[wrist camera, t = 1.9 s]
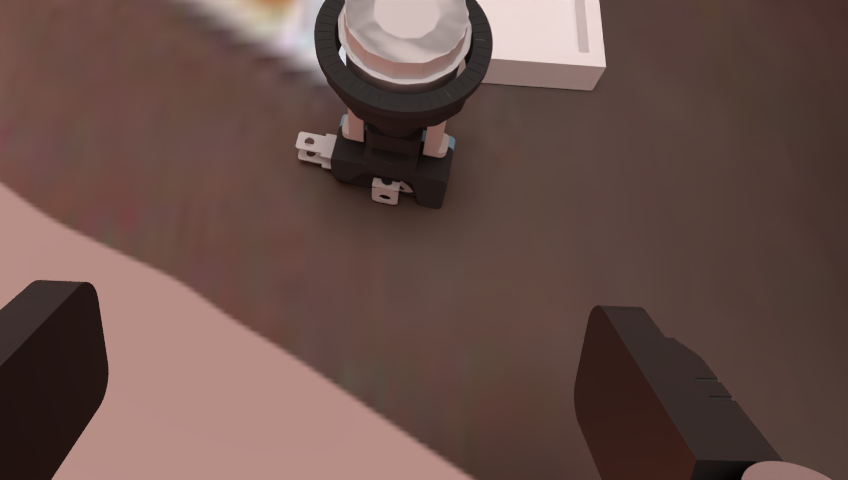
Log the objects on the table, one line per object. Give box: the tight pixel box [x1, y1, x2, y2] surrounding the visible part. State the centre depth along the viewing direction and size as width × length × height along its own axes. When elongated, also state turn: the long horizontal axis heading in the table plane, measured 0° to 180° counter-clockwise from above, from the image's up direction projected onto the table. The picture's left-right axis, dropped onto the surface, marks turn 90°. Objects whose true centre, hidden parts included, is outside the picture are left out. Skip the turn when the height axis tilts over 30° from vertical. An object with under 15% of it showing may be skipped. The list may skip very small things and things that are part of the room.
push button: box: [296, 0, 493, 209], centre depth 22 cm, size 7×5×10 cm
